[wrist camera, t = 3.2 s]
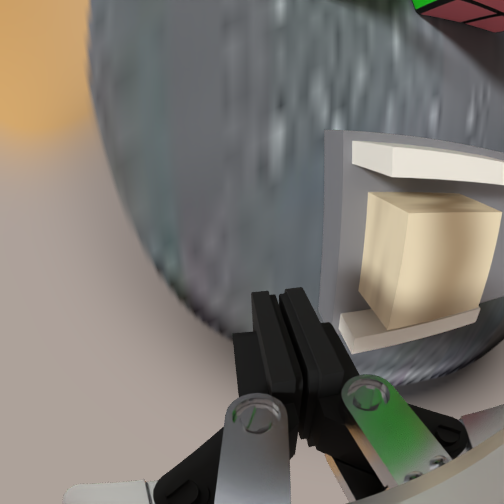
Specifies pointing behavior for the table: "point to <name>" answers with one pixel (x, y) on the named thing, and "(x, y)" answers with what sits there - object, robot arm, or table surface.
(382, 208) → the block
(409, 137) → the grey compartment tray
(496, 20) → the puzzle cube
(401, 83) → the table surface
